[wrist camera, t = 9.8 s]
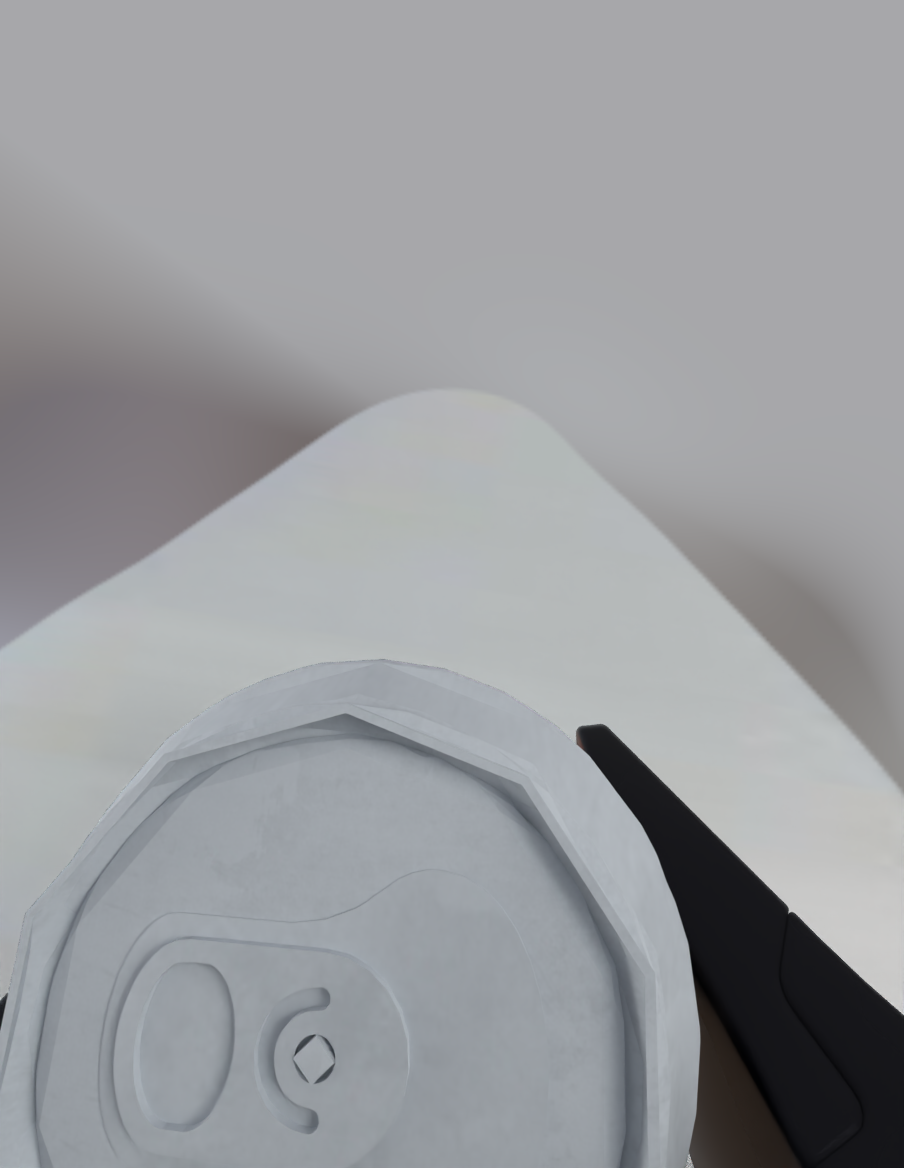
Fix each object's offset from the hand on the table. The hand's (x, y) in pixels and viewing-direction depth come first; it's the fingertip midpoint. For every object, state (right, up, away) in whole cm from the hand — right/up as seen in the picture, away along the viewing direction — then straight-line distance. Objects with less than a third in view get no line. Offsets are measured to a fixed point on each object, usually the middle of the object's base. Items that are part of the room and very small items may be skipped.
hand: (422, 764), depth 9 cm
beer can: (+1, -3, +6) cm, 7 cm away
